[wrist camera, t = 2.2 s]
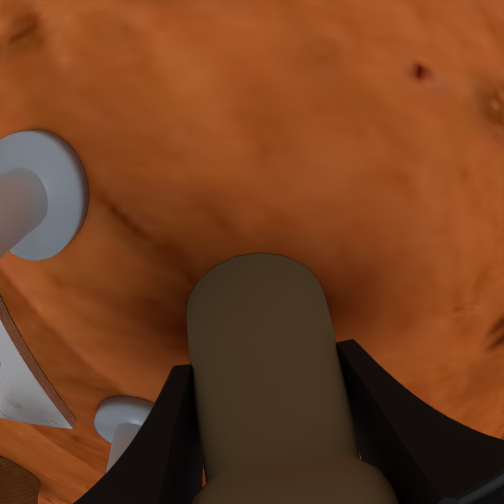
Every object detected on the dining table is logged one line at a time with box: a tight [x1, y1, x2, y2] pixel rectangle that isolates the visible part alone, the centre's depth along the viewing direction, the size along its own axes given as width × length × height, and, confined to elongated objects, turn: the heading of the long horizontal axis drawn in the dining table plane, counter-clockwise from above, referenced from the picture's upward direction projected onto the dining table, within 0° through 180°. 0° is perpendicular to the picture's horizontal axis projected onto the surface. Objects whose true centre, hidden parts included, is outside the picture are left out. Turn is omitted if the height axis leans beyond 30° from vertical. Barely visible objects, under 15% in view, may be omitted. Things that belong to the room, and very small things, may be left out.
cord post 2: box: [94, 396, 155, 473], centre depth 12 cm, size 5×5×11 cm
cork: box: [186, 253, 399, 504], centre depth 9 cm, size 6×6×11 cm
